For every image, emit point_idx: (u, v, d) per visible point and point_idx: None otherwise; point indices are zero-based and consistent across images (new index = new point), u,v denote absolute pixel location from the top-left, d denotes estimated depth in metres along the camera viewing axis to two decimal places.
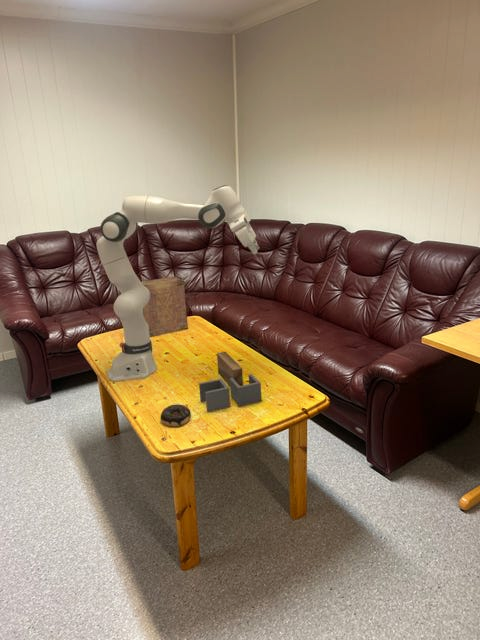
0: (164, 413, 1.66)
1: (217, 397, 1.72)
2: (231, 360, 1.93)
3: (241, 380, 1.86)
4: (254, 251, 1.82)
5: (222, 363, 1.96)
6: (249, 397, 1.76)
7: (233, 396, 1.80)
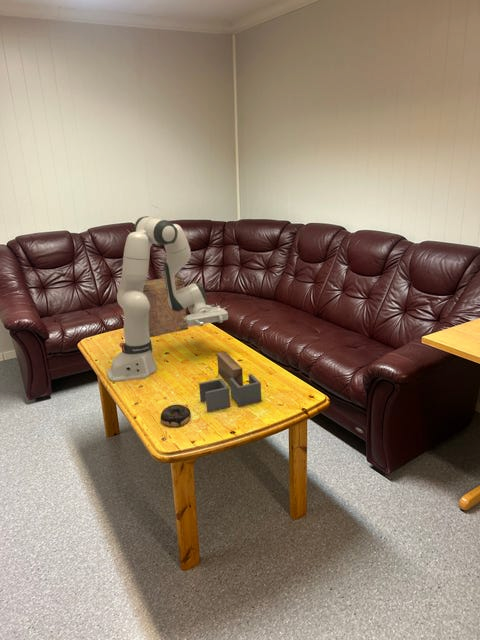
0: (164, 413, 1.66)
1: (217, 397, 1.72)
2: (231, 360, 1.93)
3: (241, 380, 1.86)
4: None
5: (222, 363, 1.96)
6: (249, 397, 1.76)
7: (233, 396, 1.80)
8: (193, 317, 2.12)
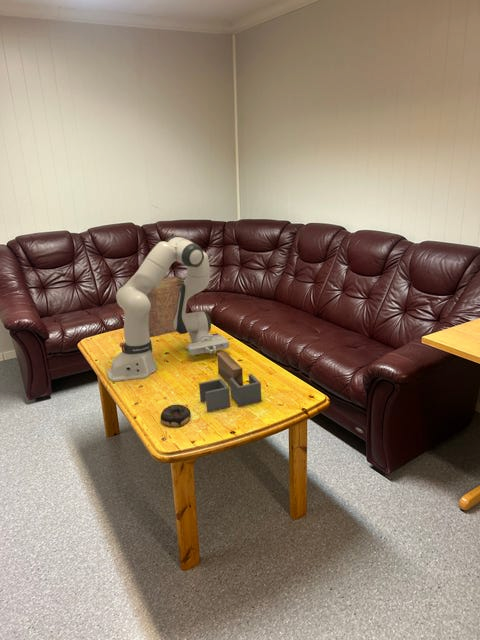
0: (164, 413, 1.66)
1: (217, 397, 1.72)
2: (231, 360, 1.93)
3: (241, 380, 1.86)
4: None
5: (222, 363, 1.96)
6: (249, 397, 1.76)
7: (233, 396, 1.80)
8: (195, 346, 2.17)
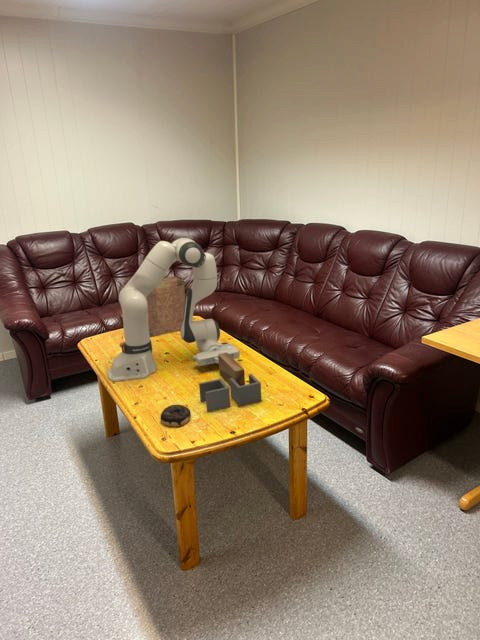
0: (164, 413, 1.66)
1: (217, 397, 1.72)
2: (233, 361, 1.92)
3: (243, 381, 1.85)
4: None
5: (223, 364, 1.95)
6: (249, 397, 1.76)
7: (233, 396, 1.80)
8: (204, 356, 2.05)
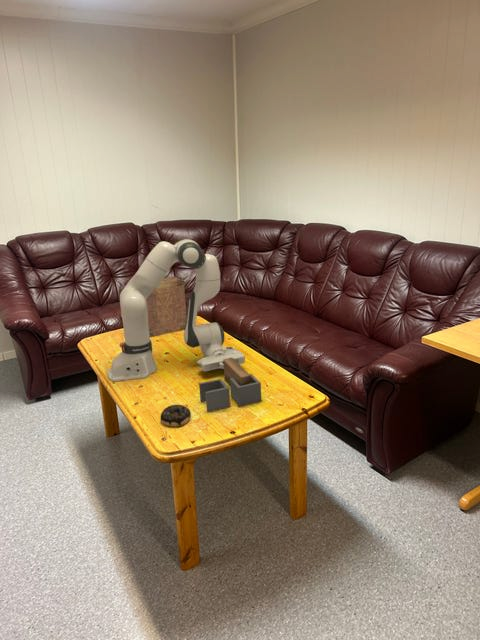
0: (164, 413, 1.66)
1: (217, 397, 1.72)
2: (238, 367, 1.86)
3: None
4: None
5: (229, 370, 1.89)
6: (249, 397, 1.76)
7: (233, 396, 1.80)
8: (208, 361, 1.99)
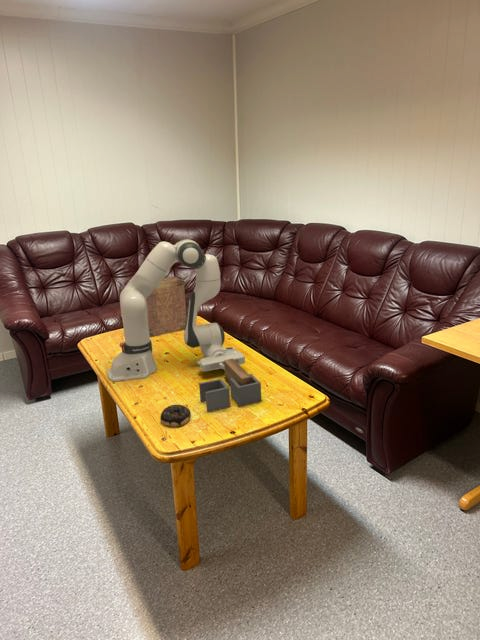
0: (164, 413, 1.66)
1: (217, 397, 1.72)
2: (239, 368, 1.85)
3: None
4: None
5: (229, 371, 1.89)
6: (249, 397, 1.76)
7: (233, 396, 1.80)
8: (208, 361, 1.99)
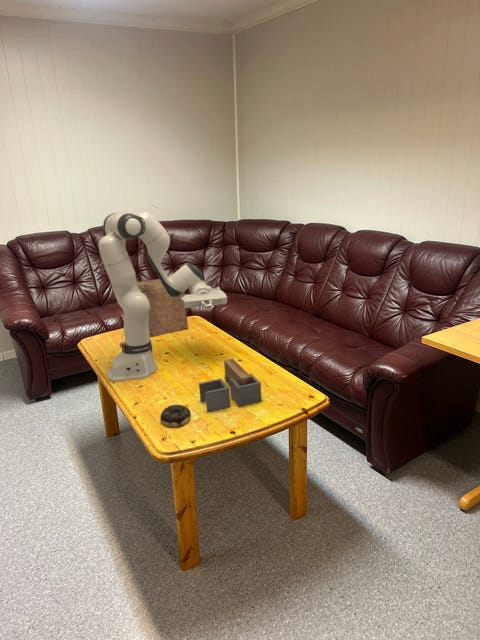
0: (164, 413, 1.66)
1: (217, 397, 1.72)
2: (239, 368, 1.85)
3: None
4: None
5: (229, 371, 1.89)
6: (249, 397, 1.76)
7: (233, 396, 1.80)
8: (191, 299, 2.06)
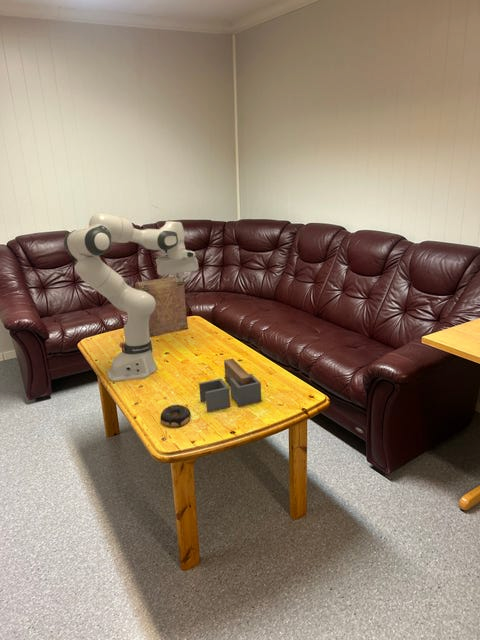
0: (164, 414, 1.65)
1: (217, 397, 1.72)
2: (239, 368, 1.85)
3: None
4: None
5: (229, 371, 1.89)
6: (249, 397, 1.76)
7: (233, 396, 1.80)
8: (165, 271, 2.19)
